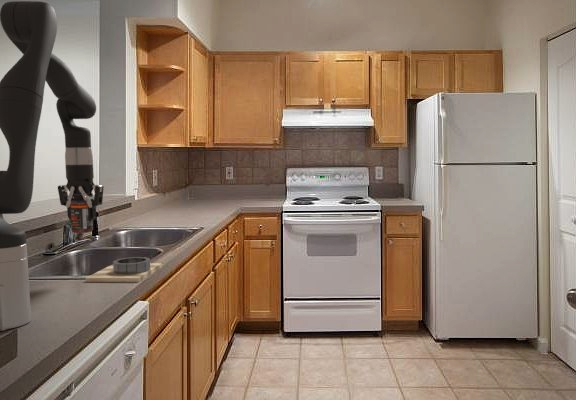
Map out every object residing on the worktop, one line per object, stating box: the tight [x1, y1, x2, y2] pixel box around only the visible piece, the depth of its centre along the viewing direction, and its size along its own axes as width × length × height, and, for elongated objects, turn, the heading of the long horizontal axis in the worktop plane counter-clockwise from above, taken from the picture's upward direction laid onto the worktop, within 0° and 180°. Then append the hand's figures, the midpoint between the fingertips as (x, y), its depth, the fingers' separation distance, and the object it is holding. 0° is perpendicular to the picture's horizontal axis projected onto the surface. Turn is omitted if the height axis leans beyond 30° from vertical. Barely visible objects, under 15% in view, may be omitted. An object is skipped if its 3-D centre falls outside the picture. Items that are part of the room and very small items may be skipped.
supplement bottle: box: [70, 194, 94, 234], centre depth 149 cm, size 6×6×11 cm
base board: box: [85, 262, 163, 283], centre depth 155 cm, size 20×16×1 cm
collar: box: [112, 256, 151, 274], centre depth 155 cm, size 11×11×3 cm
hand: (82, 219), depth 149 cm, fingers closed on supplement bottle, 6 cm apart
